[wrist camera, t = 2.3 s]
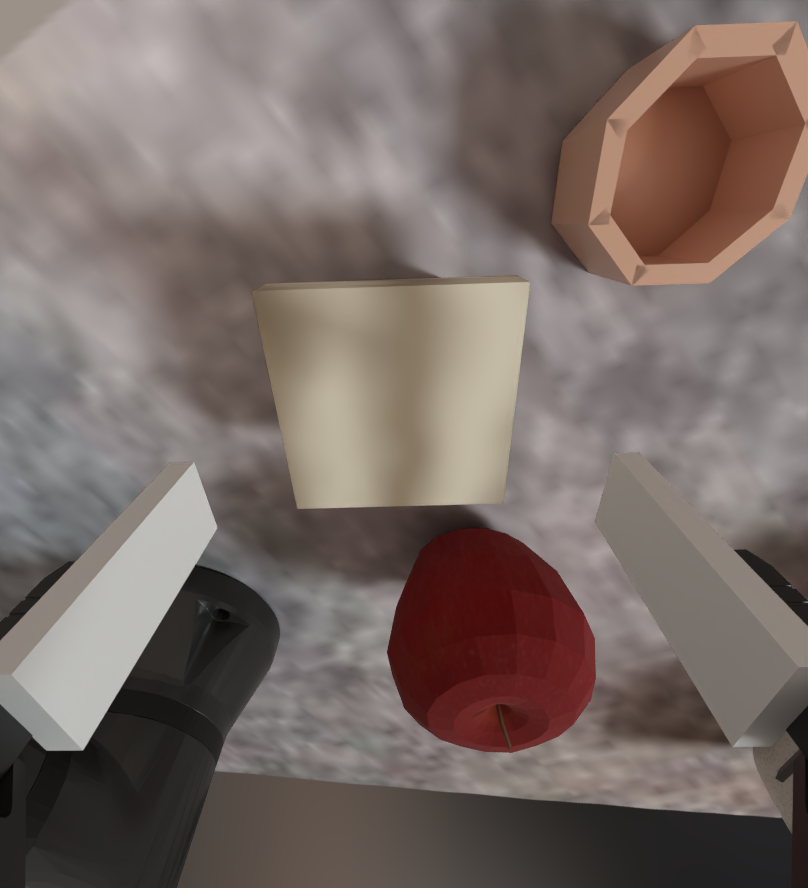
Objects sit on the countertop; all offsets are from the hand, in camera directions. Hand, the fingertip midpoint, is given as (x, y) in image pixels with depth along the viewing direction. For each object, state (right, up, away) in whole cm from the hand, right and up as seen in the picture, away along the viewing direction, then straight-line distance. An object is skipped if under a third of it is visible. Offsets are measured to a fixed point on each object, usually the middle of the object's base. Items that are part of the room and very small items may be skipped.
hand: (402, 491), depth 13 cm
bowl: (+11, +14, +6) cm, 19 cm away
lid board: (0, +4, +7) cm, 8 cm away
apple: (+5, -7, +18) cm, 20 cm away
